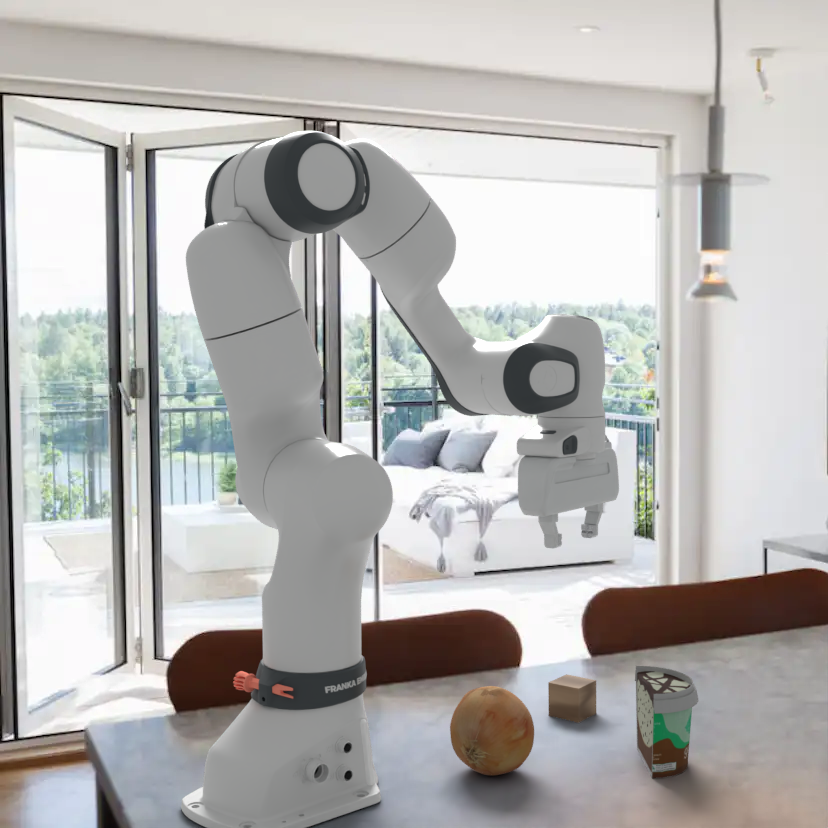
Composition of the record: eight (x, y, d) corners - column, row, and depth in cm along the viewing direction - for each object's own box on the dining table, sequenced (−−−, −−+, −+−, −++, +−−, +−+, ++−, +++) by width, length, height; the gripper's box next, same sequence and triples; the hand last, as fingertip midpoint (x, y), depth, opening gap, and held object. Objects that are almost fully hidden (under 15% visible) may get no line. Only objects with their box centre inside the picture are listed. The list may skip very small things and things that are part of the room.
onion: (544, 762, 129) (544, 679, 129) (520, 794, 120) (520, 704, 120) (467, 752, 133) (466, 670, 133) (438, 782, 124) (437, 694, 123)
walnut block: (578, 723, 143) (578, 688, 143) (548, 716, 146) (548, 682, 146) (596, 714, 147) (596, 680, 147) (566, 707, 150) (566, 674, 149)
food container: (709, 783, 123) (710, 695, 122) (654, 783, 123) (654, 695, 122) (684, 744, 135) (685, 663, 134) (634, 744, 135) (634, 664, 135)
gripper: (589, 432, 154) (590, 529, 155) (508, 442, 139) (509, 551, 139) (630, 433, 151) (630, 533, 151) (551, 444, 135) (552, 556, 135)
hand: (571, 542), depth 145 cm, fingers open, 8 cm apart
